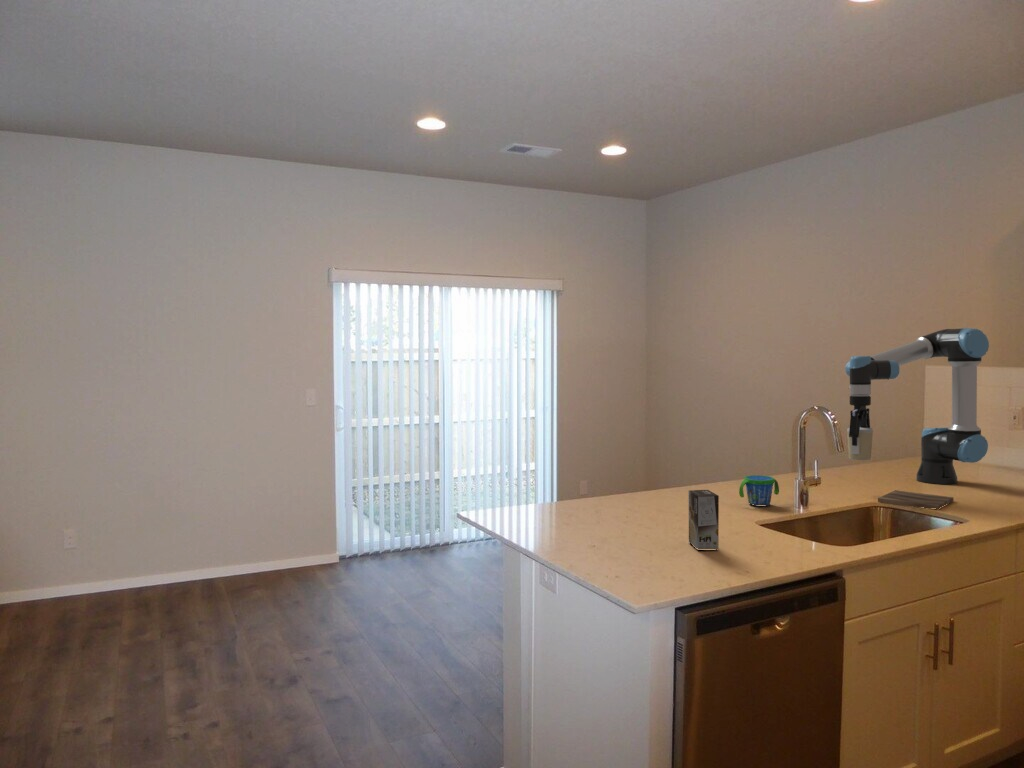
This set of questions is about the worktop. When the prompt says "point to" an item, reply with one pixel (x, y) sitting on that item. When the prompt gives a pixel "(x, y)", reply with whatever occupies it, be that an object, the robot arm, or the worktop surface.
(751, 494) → the snack cup
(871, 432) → the coffee cup
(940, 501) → the walnut board
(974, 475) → the worktop surface
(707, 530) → the coffee box
